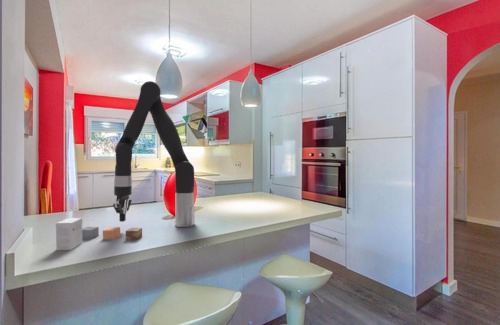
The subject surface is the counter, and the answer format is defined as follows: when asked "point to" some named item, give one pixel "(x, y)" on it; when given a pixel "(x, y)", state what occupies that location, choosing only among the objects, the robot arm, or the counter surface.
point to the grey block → (90, 232)
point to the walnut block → (133, 233)
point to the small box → (68, 233)
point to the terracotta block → (111, 233)
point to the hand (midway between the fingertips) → (122, 221)
